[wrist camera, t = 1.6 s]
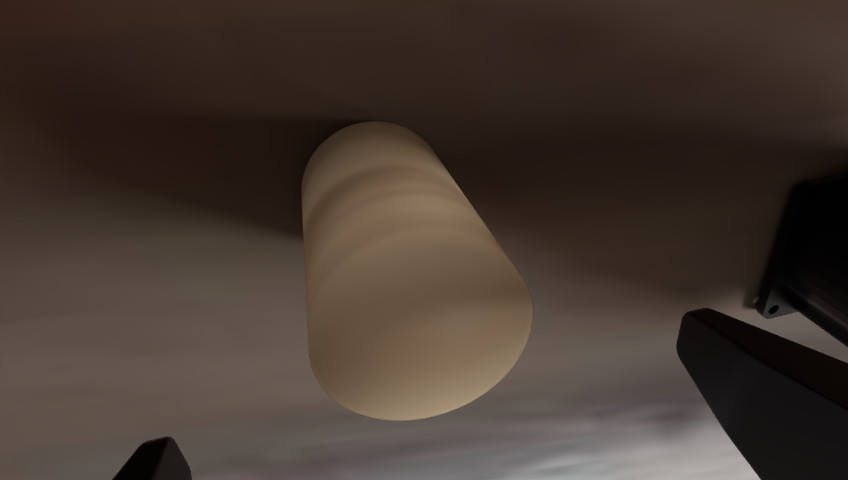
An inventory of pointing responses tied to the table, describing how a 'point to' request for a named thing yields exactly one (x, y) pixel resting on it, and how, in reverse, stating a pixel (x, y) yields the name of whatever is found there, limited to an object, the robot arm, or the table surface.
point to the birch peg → (403, 279)
